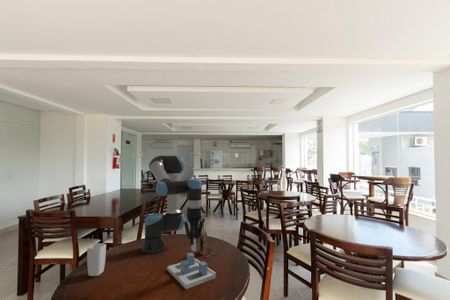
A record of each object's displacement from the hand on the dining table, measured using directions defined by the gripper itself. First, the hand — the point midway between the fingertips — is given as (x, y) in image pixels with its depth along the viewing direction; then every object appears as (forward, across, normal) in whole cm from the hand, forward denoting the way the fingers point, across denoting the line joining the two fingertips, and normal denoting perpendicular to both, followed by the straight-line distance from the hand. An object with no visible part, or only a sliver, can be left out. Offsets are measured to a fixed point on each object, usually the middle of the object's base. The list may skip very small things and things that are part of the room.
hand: (193, 250), depth 122 cm
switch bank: (+12, -2, -1) cm, 12 cm away
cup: (+13, -43, +29) cm, 54 cm away
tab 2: (+10, +1, +6) cm, 12 cm away
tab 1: (+10, -6, -1) cm, 11 cm away
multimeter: (+13, +20, +16) cm, 28 cm away
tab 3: (+9, +1, -8) cm, 12 cm away
